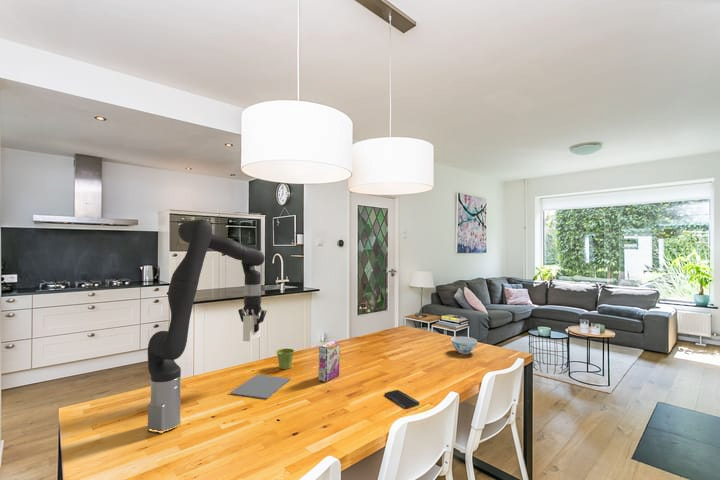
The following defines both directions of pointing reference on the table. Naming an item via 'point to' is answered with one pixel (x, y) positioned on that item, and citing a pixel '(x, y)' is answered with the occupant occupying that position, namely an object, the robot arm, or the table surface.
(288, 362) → the plant pot
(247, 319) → the cream block
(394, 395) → the phone
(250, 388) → the slate mat
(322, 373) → the candy bar box
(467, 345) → the chinaware
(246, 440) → the table surface
